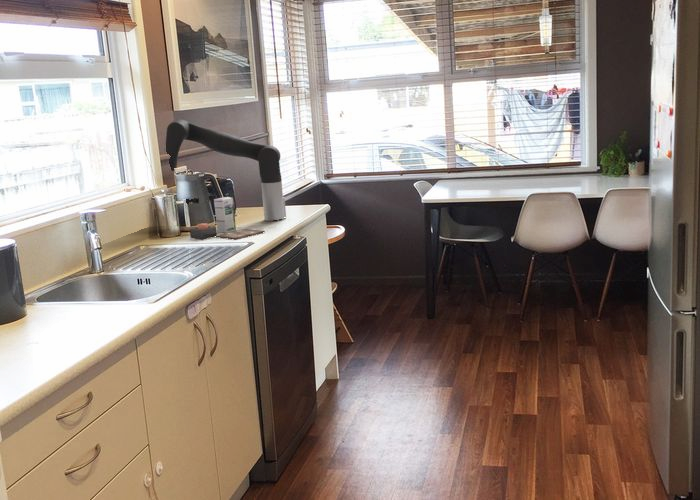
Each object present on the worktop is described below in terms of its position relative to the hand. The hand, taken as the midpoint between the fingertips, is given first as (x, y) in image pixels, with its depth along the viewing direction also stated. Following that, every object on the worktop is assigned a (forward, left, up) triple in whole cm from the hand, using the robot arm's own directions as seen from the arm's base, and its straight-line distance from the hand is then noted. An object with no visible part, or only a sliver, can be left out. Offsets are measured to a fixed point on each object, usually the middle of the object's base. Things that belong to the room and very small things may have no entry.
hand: (206, 199), depth 332 cm
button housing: (+13, +12, -13) cm, 22 cm away
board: (+3, +24, -13) cm, 27 cm away
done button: (+13, +12, -11) cm, 21 cm away
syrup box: (0, +11, -13) cm, 18 cm away
